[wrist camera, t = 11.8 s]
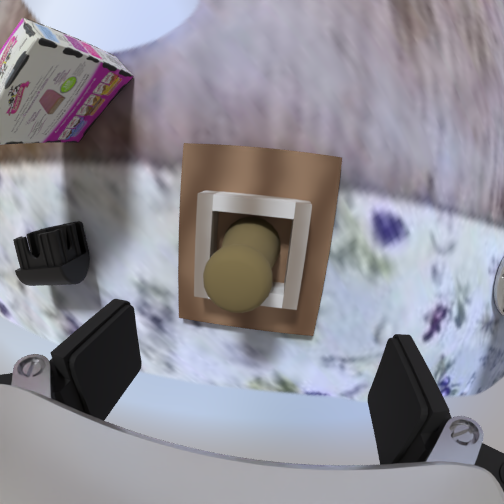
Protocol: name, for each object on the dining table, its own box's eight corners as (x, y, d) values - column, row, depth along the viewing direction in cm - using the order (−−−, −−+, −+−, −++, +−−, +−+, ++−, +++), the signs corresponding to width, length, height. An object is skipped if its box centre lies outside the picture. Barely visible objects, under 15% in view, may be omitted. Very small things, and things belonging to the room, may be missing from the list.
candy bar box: (114, 54, 27) (23, 14, 12) (135, 76, 28) (40, 36, 13) (61, 120, 30) (-37, 118, 15) (78, 144, 31) (-25, 149, 16)
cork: (290, 258, 31) (292, 307, 21) (239, 281, 33) (218, 336, 22) (264, 206, 30) (252, 231, 20) (212, 232, 31) (177, 268, 21)
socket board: (340, 157, 29) (348, 157, 25) (312, 330, 35) (314, 350, 31) (187, 143, 30) (173, 141, 26) (182, 313, 36) (170, 330, 32)
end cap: (49, 275, 37) (20, 292, 31) (38, 229, 36) (6, 241, 29) (97, 272, 36) (67, 292, 30) (85, 220, 34) (51, 232, 28)
